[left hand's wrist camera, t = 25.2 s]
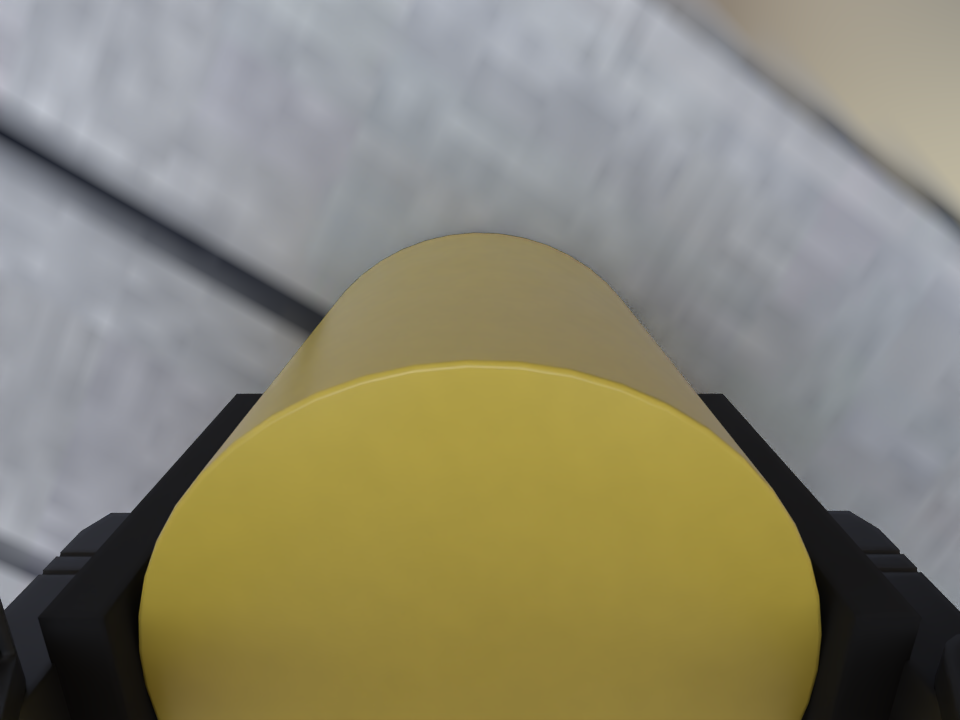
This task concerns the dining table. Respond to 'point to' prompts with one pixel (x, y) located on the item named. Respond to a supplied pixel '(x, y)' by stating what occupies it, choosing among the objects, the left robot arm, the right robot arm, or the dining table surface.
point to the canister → (479, 521)
